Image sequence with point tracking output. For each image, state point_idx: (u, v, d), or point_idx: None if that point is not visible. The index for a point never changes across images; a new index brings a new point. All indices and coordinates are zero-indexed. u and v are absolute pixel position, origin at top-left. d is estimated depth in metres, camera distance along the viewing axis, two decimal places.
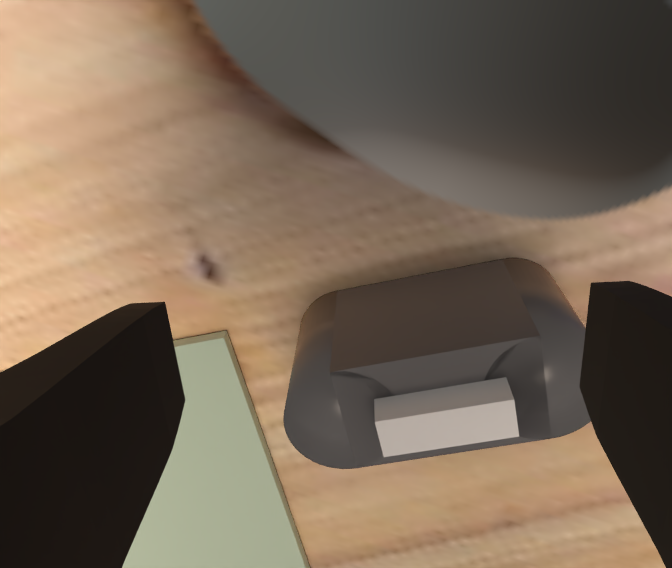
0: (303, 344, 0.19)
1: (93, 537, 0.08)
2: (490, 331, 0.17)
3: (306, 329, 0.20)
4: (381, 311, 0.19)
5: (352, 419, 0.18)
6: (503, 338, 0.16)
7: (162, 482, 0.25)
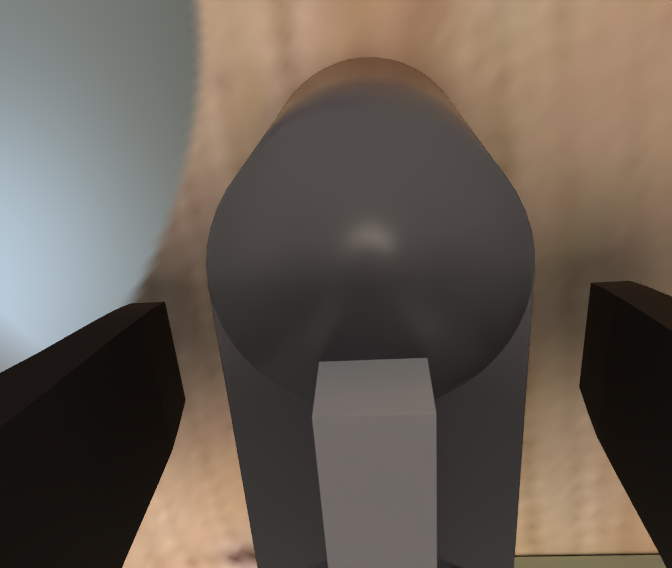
0: None
1: (93, 537, 0.08)
2: None
3: None
4: None
5: None
6: None
7: None
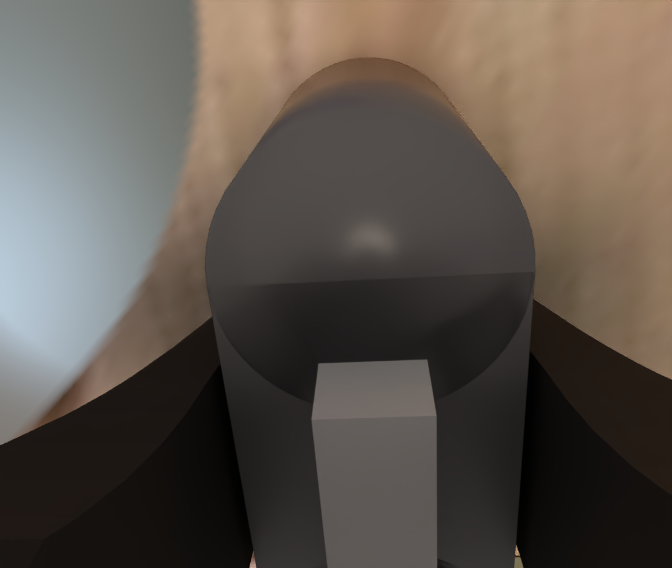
0: None
1: (233, 535, 0.08)
2: None
3: None
4: None
5: None
6: None
7: None
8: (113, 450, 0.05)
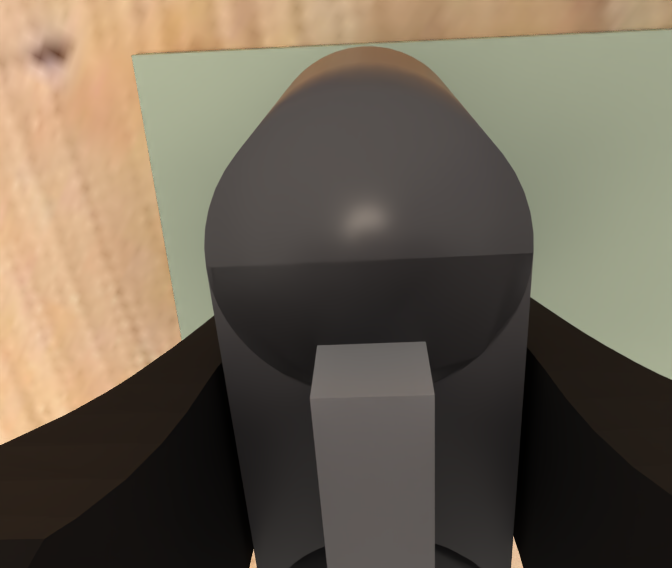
0: None
1: (233, 534, 0.08)
2: None
3: None
4: None
5: None
6: None
7: None
8: (113, 450, 0.05)
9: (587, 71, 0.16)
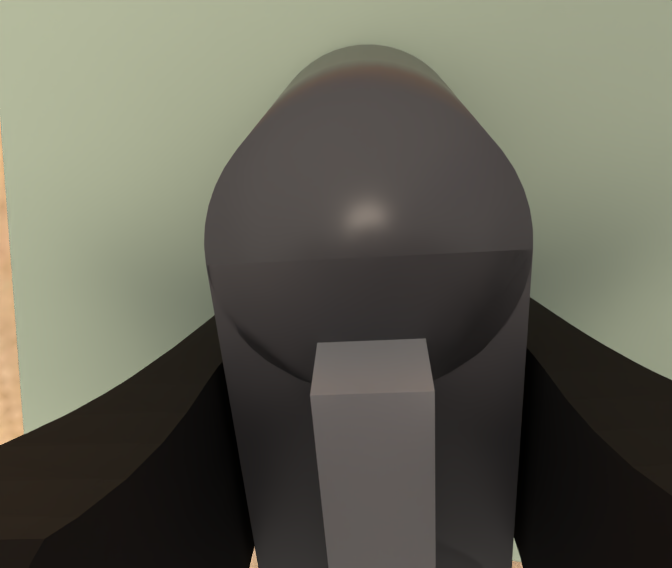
0: None
1: (233, 534, 0.08)
2: None
3: None
4: None
5: None
6: None
7: None
8: (113, 450, 0.05)
9: None
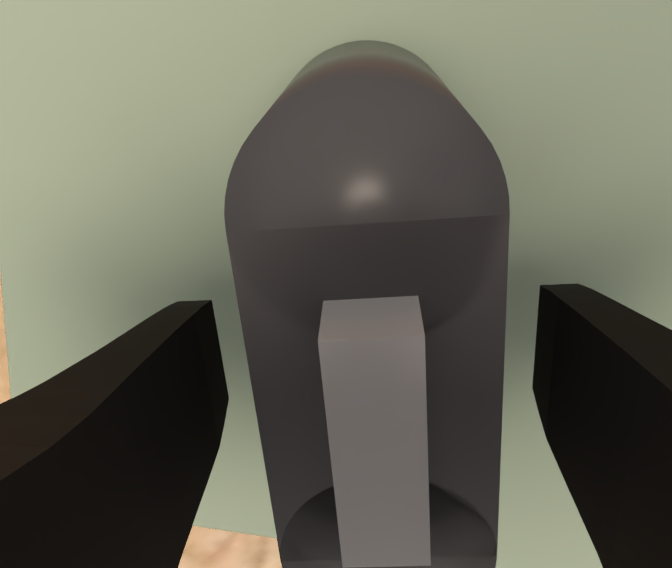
0: None
1: (154, 536, 0.08)
2: None
3: None
4: None
5: None
6: None
7: None
8: (0, 453, 0.05)
9: None
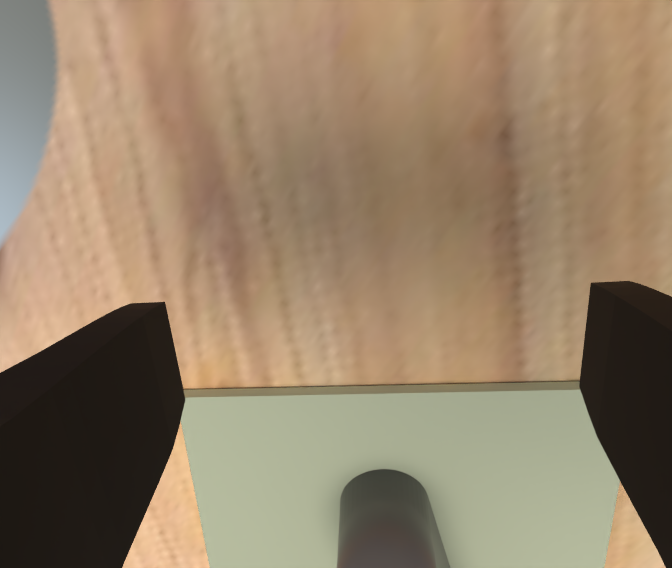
0: None
1: (93, 537, 0.08)
2: None
3: None
4: None
5: None
6: None
7: None
8: None
9: (511, 412, 0.22)
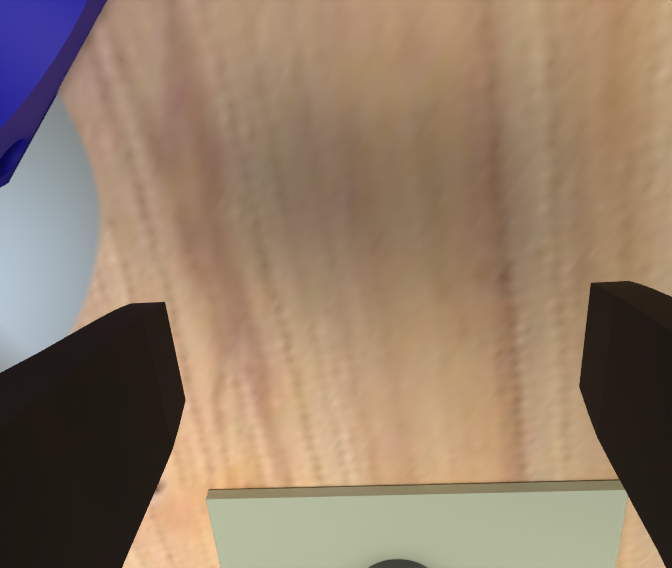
0: None
1: (93, 537, 0.08)
2: None
3: None
4: None
5: None
6: None
7: None
8: None
9: (514, 510, 0.24)
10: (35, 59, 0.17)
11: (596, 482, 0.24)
